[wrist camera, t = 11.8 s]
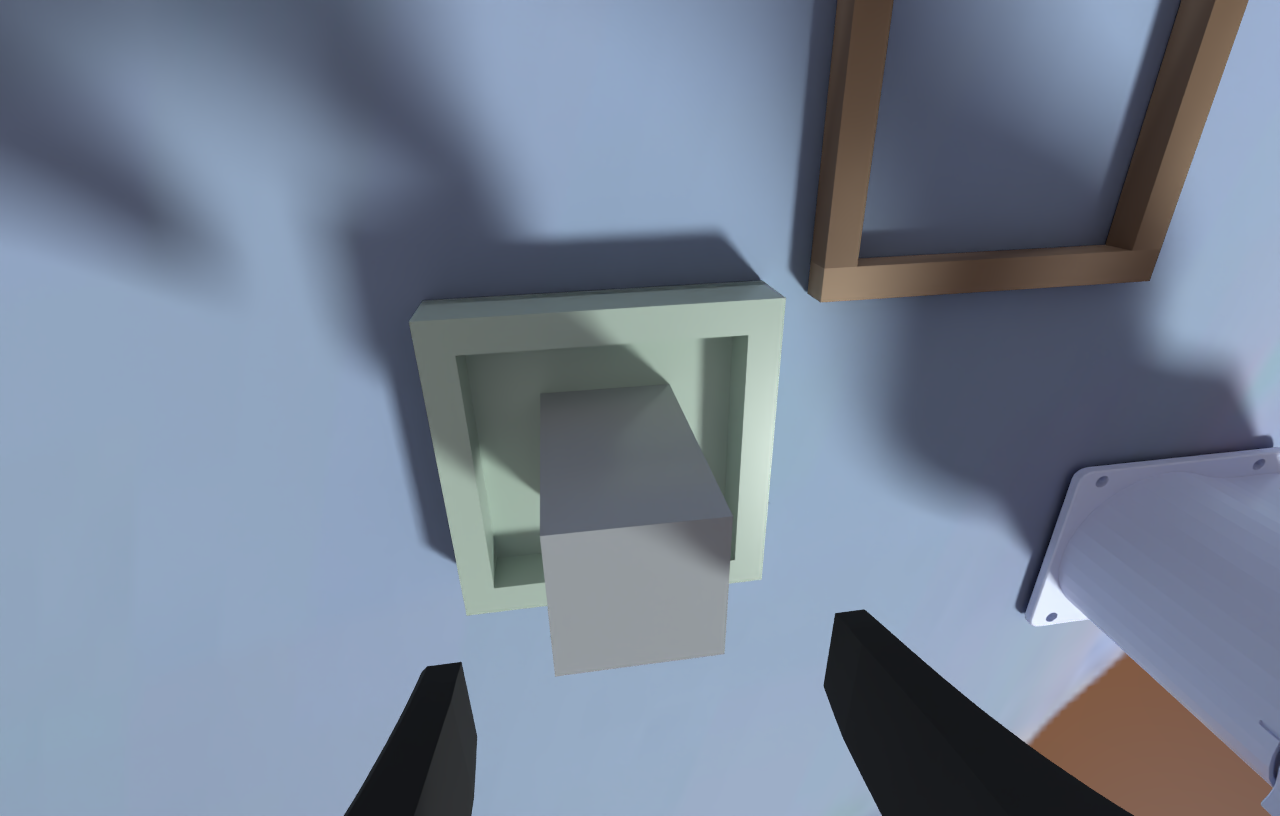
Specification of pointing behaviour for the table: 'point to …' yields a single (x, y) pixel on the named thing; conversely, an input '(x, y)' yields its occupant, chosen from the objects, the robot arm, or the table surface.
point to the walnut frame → (1126, 257)
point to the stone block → (629, 531)
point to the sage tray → (586, 360)
